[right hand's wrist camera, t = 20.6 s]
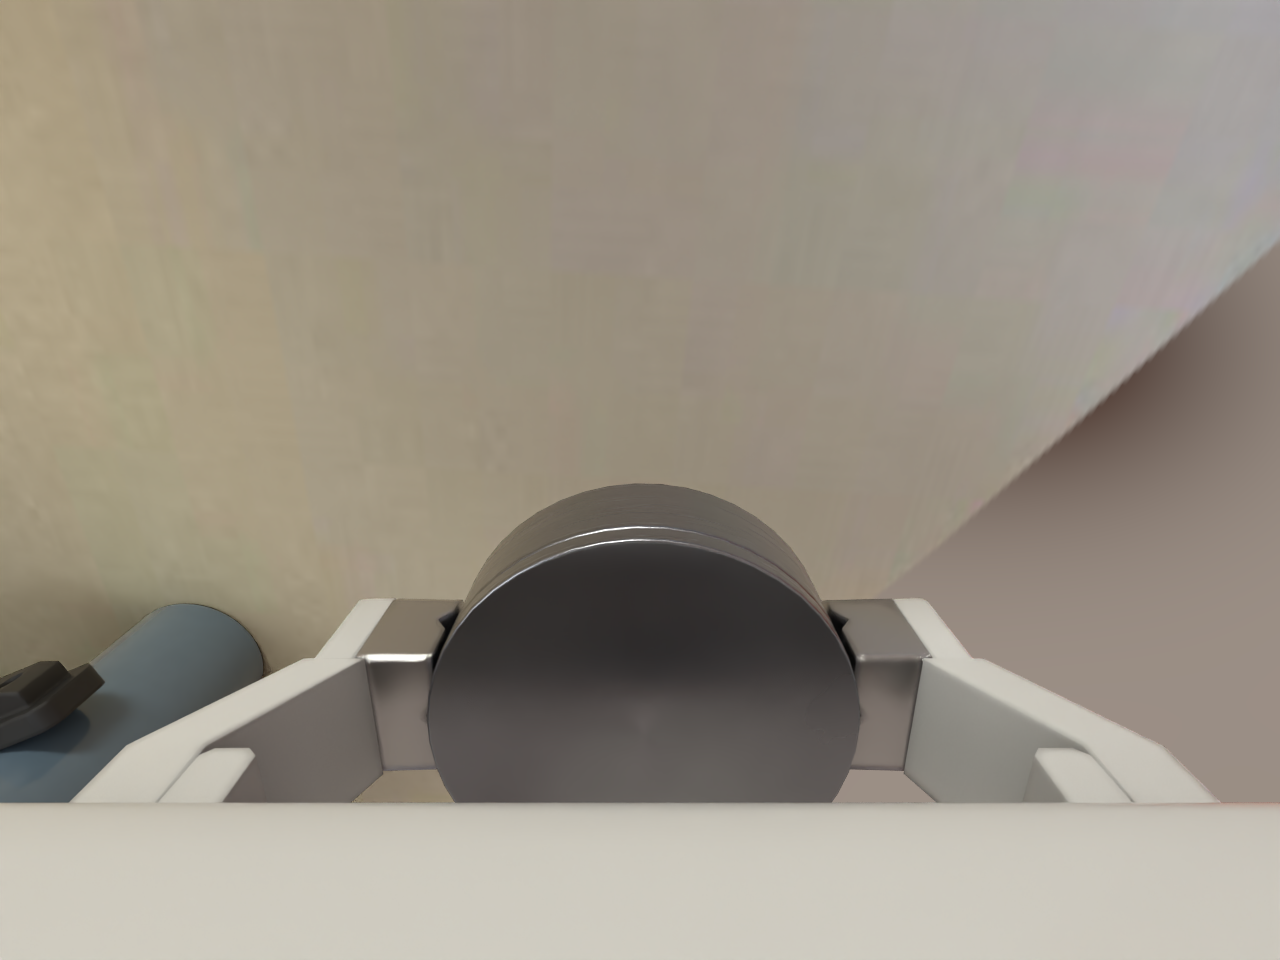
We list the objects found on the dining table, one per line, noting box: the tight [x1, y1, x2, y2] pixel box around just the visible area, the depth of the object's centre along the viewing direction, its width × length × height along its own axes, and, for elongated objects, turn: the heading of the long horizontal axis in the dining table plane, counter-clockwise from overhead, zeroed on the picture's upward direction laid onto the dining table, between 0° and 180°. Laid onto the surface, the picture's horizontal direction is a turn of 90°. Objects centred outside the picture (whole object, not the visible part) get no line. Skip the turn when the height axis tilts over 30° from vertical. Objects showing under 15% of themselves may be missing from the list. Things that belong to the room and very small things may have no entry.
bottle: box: [0, 604, 263, 803], centre depth 19 cm, size 5×5×16 cm
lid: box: [427, 484, 860, 803], centre depth 9 cm, size 5×5×2 cm
